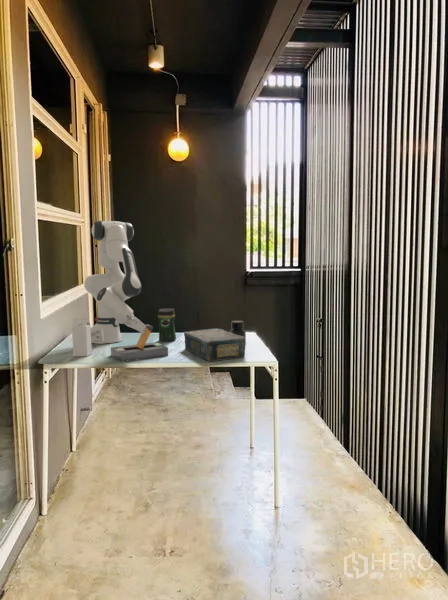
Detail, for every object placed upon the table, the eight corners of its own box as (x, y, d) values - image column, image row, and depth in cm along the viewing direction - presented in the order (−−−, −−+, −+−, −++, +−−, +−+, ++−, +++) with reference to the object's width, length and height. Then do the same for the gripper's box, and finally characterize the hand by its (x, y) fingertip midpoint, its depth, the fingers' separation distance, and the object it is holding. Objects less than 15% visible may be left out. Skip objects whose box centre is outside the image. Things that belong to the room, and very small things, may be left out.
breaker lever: (139, 347, 234) (149, 324, 236) (135, 345, 239) (145, 323, 241) (143, 349, 235) (154, 327, 237) (139, 347, 240) (149, 325, 242)
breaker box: (121, 361, 225) (121, 352, 224) (111, 355, 238) (110, 346, 238) (168, 355, 237) (167, 346, 236) (155, 349, 250) (155, 341, 250)
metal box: (207, 363, 221) (206, 342, 220) (183, 349, 251) (182, 331, 250) (247, 357, 230) (247, 337, 229) (219, 345, 260) (219, 327, 258)
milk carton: (78, 353, 244) (76, 316, 242) (91, 353, 244) (90, 316, 242) (73, 356, 237) (71, 319, 235) (87, 356, 237) (85, 318, 235)
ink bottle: (248, 341, 268) (247, 320, 266) (244, 344, 259) (244, 323, 258) (231, 340, 270) (231, 320, 269) (227, 344, 262) (226, 322, 260)
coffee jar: (177, 339, 278) (176, 307, 276) (173, 341, 270) (173, 309, 268) (161, 338, 279) (160, 307, 277) (157, 341, 271) (156, 309, 269)
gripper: (135, 312, 223) (155, 330, 229) (122, 307, 241) (140, 325, 247) (127, 322, 222) (147, 340, 228) (113, 317, 239) (132, 334, 245)
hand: (143, 332), depth 237 cm, fingers closed, pressing on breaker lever
